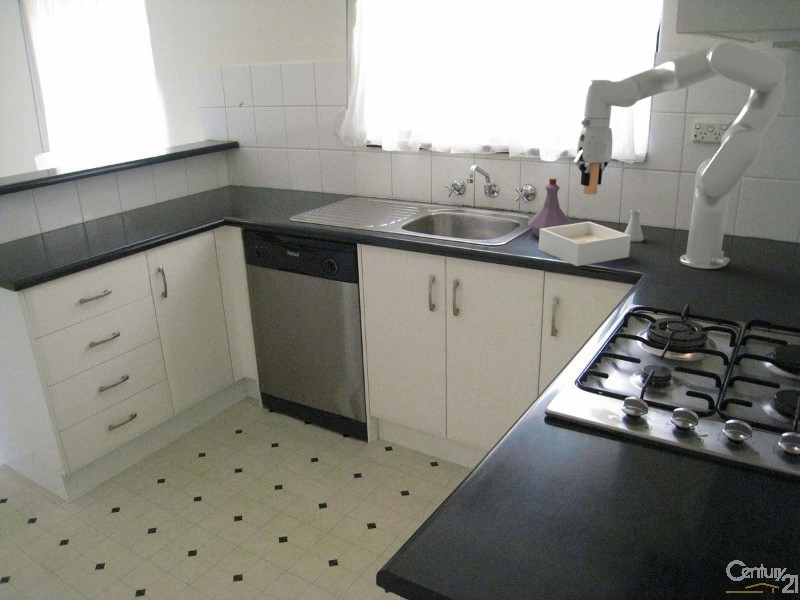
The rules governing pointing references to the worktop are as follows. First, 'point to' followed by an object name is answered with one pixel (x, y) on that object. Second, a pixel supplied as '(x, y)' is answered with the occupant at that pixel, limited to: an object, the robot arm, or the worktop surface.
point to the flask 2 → (634, 227)
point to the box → (584, 243)
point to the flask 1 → (549, 211)
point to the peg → (592, 179)
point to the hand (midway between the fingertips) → (590, 184)
